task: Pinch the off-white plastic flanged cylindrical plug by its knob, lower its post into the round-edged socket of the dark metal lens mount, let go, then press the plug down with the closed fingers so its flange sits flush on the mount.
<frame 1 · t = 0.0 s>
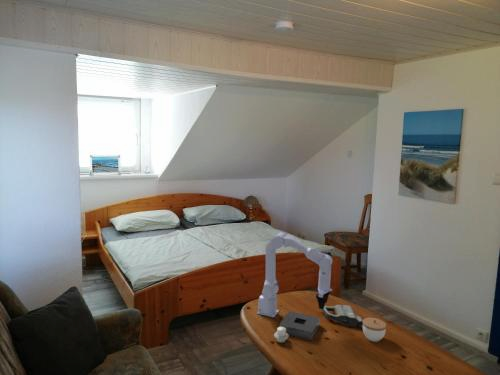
hand: (322, 305, 189), 10 cm above the table, tool pointing down, fingers open, 7 cm apart
flanged cylindrical plug: (281, 340, 175), on the table
lidded jar: (373, 338, 179), on the table
lens mount: (299, 328, 186), on the table
camcorder: (341, 319, 198), on the table
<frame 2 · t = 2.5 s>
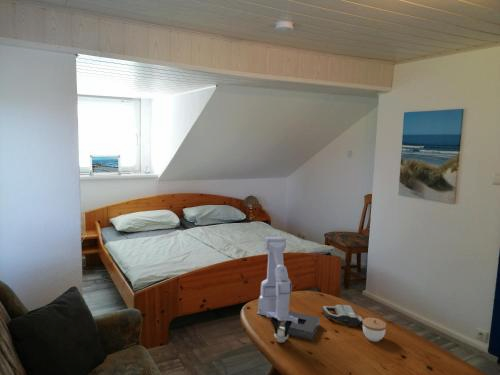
hand: (281, 334, 174), 3 cm above the table, tool pointing down, fingers closed on flanged cylindrical plug, 4 cm apart
flanged cylindrical plug: (281, 340, 175), on the table, touching gripper
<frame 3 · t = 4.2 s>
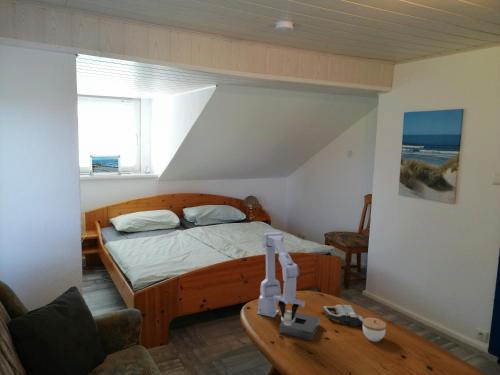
hand: (288, 317, 177), 9 cm above the table, tool pointing down, fingers closed on flanged cylindrical plug, 4 cm apart
flanged cylindrical plug: (287, 323, 177), point 6 cm above the table, touching gripper
when the fingers open (5 cm above the table, at t = 6.1 s): flanged cylindrical plug stays where it is, resting on lens mount.
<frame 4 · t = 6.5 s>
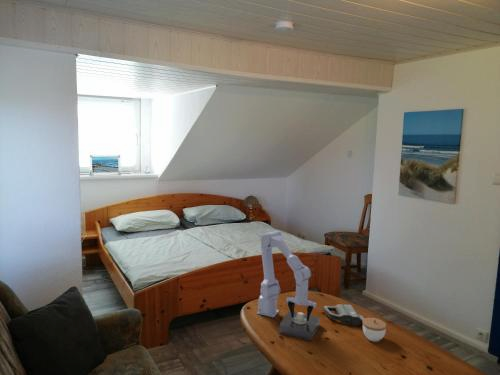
hand: (300, 318, 185), 5 cm above the table, tool pointing down, fingers open, 7 cm apart
flanged cylindrical plug: (299, 324, 185), point 2 cm above the table, touching lens mount
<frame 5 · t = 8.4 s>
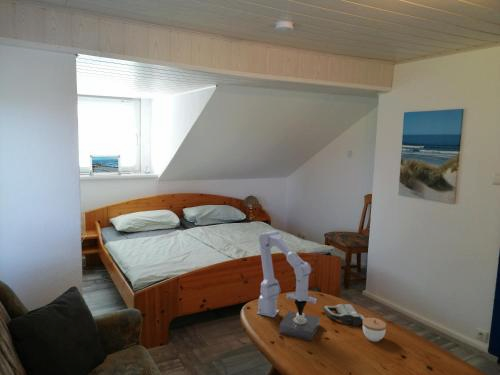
hand: (300, 314, 185), 7 cm above the table, tool pointing down, fingers closed, pressing on flanged cylindrical plug
flanged cylindrical plug: (299, 325, 185), point 2 cm above the table, touching gripper, lens mount
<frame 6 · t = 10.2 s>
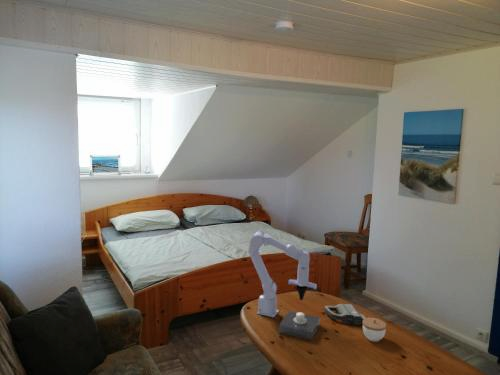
hand: (301, 299, 197), 9 cm above the table, tool pointing down, fingers closed
flanged cylindrical plug: (299, 324, 185), point 2 cm above the table, touching lens mount
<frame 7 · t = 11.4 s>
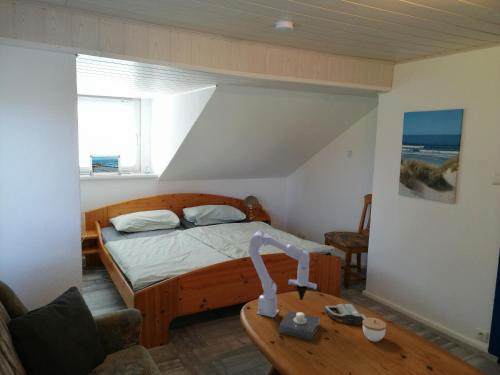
hand: (301, 299, 197), 9 cm above the table, tool pointing down, fingers closed
at the end: flanged cylindrical plug 0.1 cm off-centre on the lens mount, point 2.0 cm above the lens mount's base; flanged cylindrical plug tilted 0°; the gripper is holding nothing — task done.
